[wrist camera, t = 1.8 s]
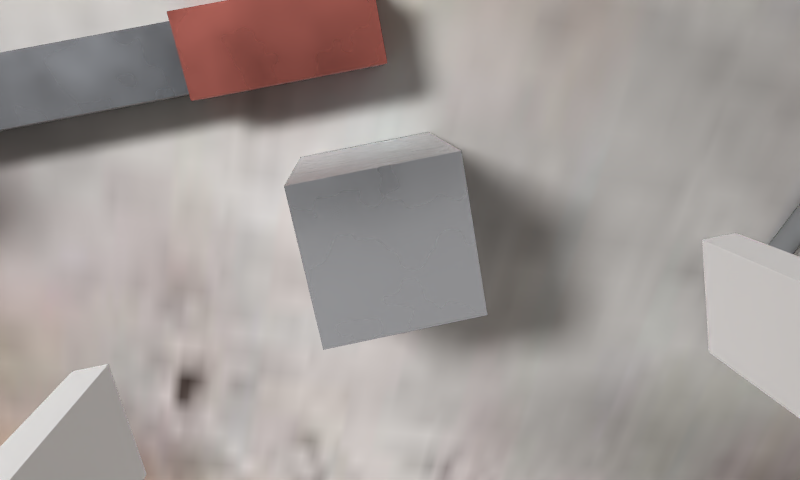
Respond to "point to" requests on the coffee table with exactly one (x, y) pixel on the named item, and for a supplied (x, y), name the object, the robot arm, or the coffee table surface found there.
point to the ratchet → (190, 57)
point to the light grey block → (386, 238)
